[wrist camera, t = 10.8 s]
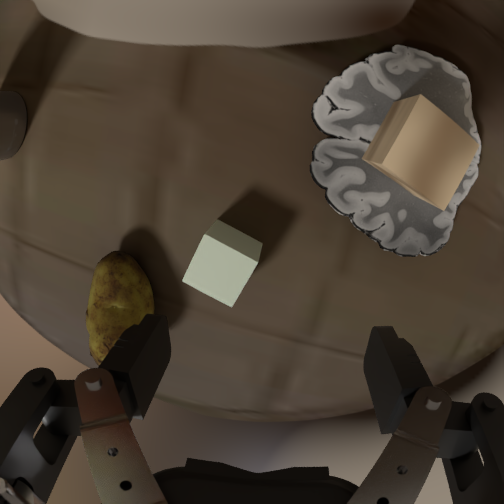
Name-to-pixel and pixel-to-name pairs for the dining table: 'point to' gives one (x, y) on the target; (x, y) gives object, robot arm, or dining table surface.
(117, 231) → the dining table surface
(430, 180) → the oak block
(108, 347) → the potato
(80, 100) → the dining table surface
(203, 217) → the dining table surface
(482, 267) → the dining table surface
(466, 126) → the brain slice
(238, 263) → the sage block
